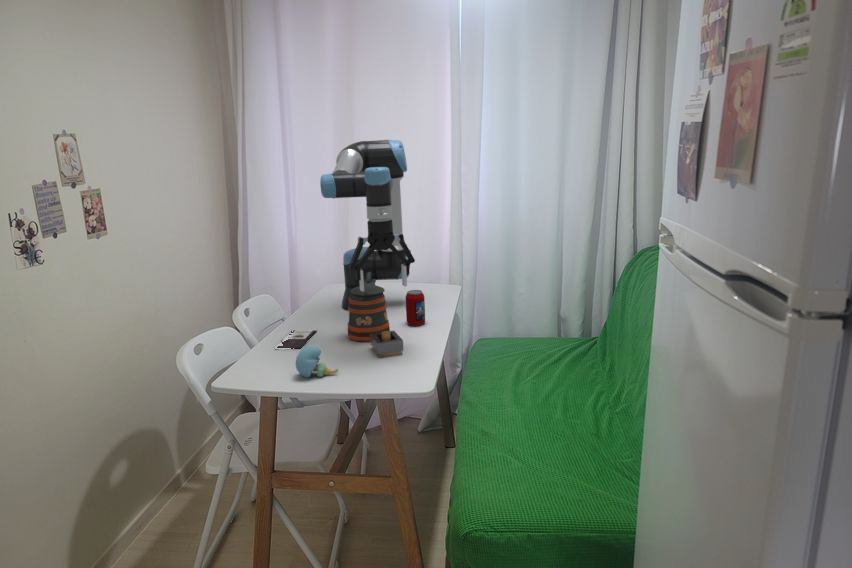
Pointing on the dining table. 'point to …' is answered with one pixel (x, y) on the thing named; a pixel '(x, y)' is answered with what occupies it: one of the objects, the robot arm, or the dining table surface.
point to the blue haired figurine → (311, 362)
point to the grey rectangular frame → (386, 343)
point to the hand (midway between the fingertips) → (383, 288)
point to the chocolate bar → (298, 339)
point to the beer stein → (367, 311)
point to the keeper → (386, 337)
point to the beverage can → (415, 307)
